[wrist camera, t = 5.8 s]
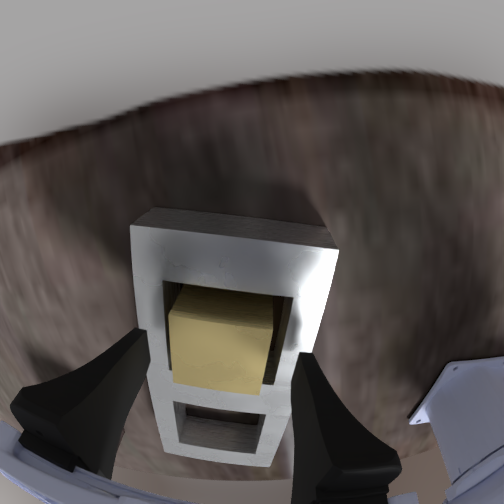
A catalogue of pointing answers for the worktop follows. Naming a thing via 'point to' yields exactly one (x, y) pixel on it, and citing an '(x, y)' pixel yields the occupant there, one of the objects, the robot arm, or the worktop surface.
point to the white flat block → (232, 278)
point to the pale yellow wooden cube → (220, 338)
